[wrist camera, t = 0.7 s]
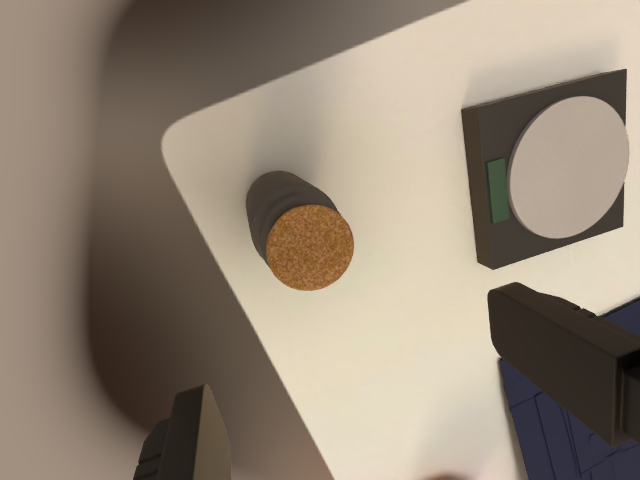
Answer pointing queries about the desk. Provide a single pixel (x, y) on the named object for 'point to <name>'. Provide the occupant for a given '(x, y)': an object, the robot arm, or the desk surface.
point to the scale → (547, 167)
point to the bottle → (298, 231)
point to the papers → (567, 429)
